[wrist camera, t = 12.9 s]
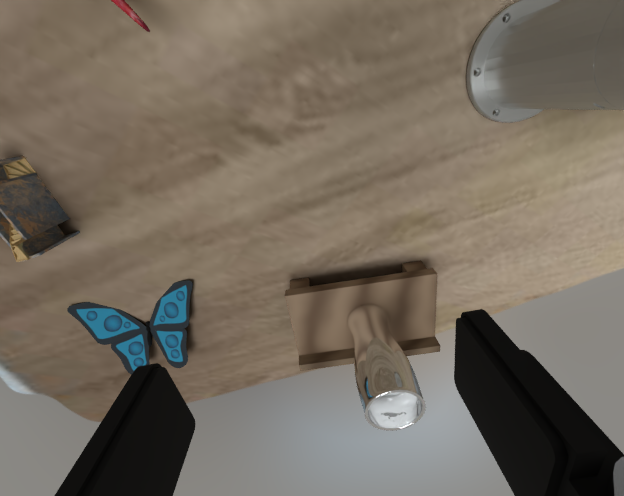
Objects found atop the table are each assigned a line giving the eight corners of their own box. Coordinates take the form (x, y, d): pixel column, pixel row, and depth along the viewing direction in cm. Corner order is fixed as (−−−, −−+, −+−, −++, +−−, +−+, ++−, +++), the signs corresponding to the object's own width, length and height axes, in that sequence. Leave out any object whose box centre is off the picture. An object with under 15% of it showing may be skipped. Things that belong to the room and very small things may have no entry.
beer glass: (367, 344, 47) (393, 439, 34) (335, 322, 45) (349, 415, 31) (399, 317, 45) (441, 407, 31) (366, 293, 43) (397, 379, 29)
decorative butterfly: (117, 370, 53) (107, 383, 50) (75, 304, 48) (62, 314, 45) (224, 344, 53) (221, 355, 50) (194, 274, 48) (189, 282, 45)
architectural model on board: (84, 230, 43) (29, 262, 34) (67, 236, 43) (7, 269, 35) (28, 154, 38) (-52, 168, 29) (9, 161, 39) (-77, 178, 30)
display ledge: (424, 257, 46) (443, 281, 40) (423, 321, 52) (439, 351, 46) (286, 278, 47) (284, 304, 41) (300, 339, 53) (300, 370, 46)
